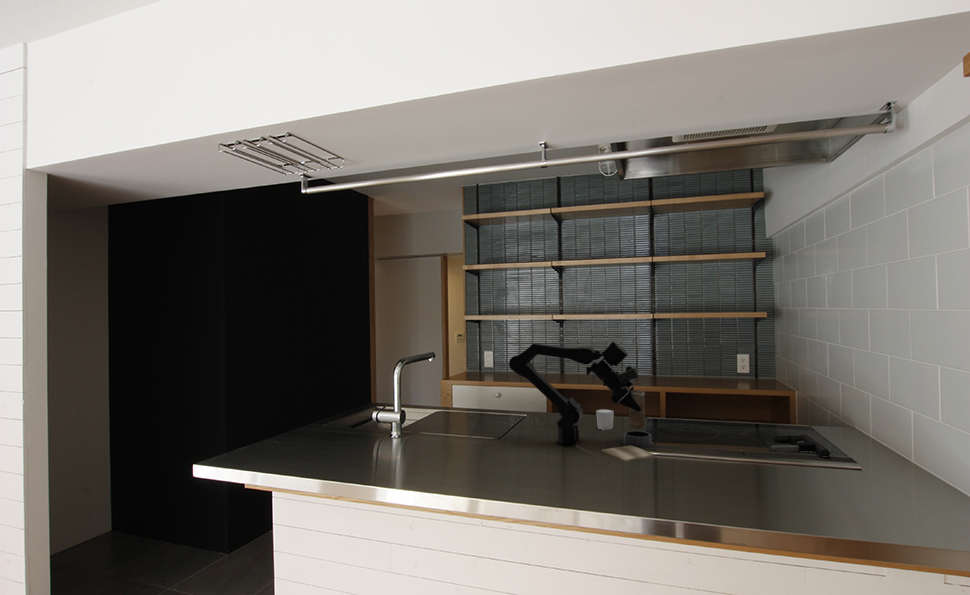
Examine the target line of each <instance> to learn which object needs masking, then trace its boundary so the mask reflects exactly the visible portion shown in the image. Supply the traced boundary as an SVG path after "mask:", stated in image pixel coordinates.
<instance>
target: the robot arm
mask: <svg viewBox="0 0 970 595" xmlns="http://www.w3.org/2000/svg"><path fill="white" fill-rule="evenodd" d="M539 355H540V356H545V357H554V358H561V359H568V360H571V361H573V362H575V363H579V364H581V365H589V364H591V363H592V362H593V363H592V364H591V365H590V366H586V367H585V370H586V373H585V374H586V375H587V376H589V375H590V374H591V373H593V375H594V376H596V377H597V379H599V381H601V383H602V386H604V387H607V389H608V390H610V392H611V398H610V400H611V401H612V402H613V404H615V405H616V404H619V405H622V406H624V407H628V408H631V409H634V410H636V411H638V412H640V411H641V408H640V407H639V405H638V404H637V403H636V401H635V400H634V399H633V397H632V390H635V386H634V382H633V380H635V379H637V378H639V376H640V374H639V372H638V371H637V370H638V369H637V368H636V367H632V366H630V365H629V366H626V367H625V371H623V372H621V373H620V372H619V371H618V370H617V371H615V370H614V369H613V368H612V367H613V366H614V367H617V366H618V365H620V364H621V363H622V362H623V361H624V360H625V359H626V358H627V357H628V356H629V354H628V352H627V351H626V350H625V349H624V347H622V346H620V345H619V344H618V343H616V341H612V342H611V343H610V344H609V346H607V347H606V349H605V350H603V351H602V350H595V348H594V347H592V346H575V347H568V346H560V345H553V344H544V343H540V342H534V343H533V344H531V345H530V346H529V347H528V348H526V349H525V350H524V351H522V352H521V353H520V354H517V355H514V356H512V357H511V358H510V359H509V362H508V365H509V366H508V368H509V369H510V370H511V371H513V372H514V373H516V374H517V375H518V376H520V377H522V378H525V379H526V380H527V381H529V382H530V383H531V385H533V386H534V387H535V388H536V389H537V390H538V391H539V392H540V393H541V394H542V395H543V396H544V397H546V398H547V400H548V401H550V402H551V403H552V404H553V405H554V406H555V408H556V410H558V413H559V415H560V416H561V418H560V419H559V420H557V422H556V424H557V433H558V434H557V436H558V437H557V440H556V441H555V442H556V443H557V444H559V445H562V446H564V447H570V446H576V445H577V444H576V442H579V441H580V431H579V427H578V425H577V423H578V422H579V421H580V420H581V419H582V416H583V412H584V411H583V409H582V407H581V404H580V403H578V402H577V401H576V400H575V398H574V397H573V396H571V397H570V398H569V399H568V398H566V397H565V396H564V395H563V394H561V393H560V392H559V391H558V390H557V389H556V387H554V386H552V384H550V383H549V381H547V380H546V378H545V377H543V376H542V374H540V373H539V372H538V371H537V370H536V368H535V367H534V365H533V363H532V362H531V361H533V359H534V358H536V357H537V356H539ZM601 358H602V359H601ZM599 359H601V360H599ZM597 360H599V362H598V361H597Z"/></svg>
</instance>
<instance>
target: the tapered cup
mask: <svg viewBox="0 0 970 595" xmlns="http://www.w3.org/2000/svg"><path fill="white" fill-rule="evenodd" d="M645 392H646V391H644V390H641V389H640V390H639V389H634V390H632V397H633V399H634V400H635V401H636V403H637V404H638V405H639V407H640V408H641V411H640V412H638V411H636V410H634V409H631V408H629V407H628V408H629V409H628V412H629V413H628V414H629V417H628V419H629V420H628V421H629V427H630V428H632V429H638V430H639V429H645V428H646V421H645V420H646V418H645V417H646V415H645V414H646V413H645V410H646V408H645V405H646V404H645Z"/></svg>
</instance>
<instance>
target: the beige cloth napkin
mask: <svg viewBox="0 0 970 595" xmlns="http://www.w3.org/2000/svg"><path fill="white" fill-rule="evenodd" d="M600 451H601V453H604V454H606V455H608V456H611V457H613V458H615V459H617V460H621V461H622V462H629V461H635V460H639V459H640V460H642V459H647V458H654V457H656V454H655V453H653V452H649V451H648V450H645V449H642V448H641V447H635V446H632V445H624V446H618V447H616V446H615V447H610V448H605V449H604V448H603V449H601V450H600Z"/></svg>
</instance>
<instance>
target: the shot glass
mask: <svg viewBox="0 0 970 595" xmlns="http://www.w3.org/2000/svg"><path fill="white" fill-rule="evenodd" d="M595 412H596V413H595V414H596V421H597V424H596V425H597V429H598V430H599V429H601V430H600V431H608V430H613V429H612V428H614V417H615V416H614V415H615V413H614V412H615V411H614V410H611V409H605V408H604V409H597V410H596V411H595Z"/></svg>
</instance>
